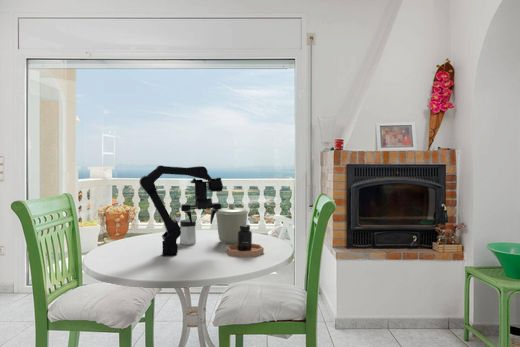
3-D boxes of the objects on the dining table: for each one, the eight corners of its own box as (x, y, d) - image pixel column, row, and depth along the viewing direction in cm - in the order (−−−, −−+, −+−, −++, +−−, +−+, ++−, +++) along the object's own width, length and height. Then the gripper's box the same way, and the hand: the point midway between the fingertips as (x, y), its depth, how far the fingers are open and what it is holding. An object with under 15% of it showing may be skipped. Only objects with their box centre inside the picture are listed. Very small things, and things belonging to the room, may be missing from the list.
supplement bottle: (243, 252, 170) (243, 227, 169) (234, 250, 175) (234, 225, 174) (254, 250, 174) (254, 225, 174) (245, 247, 179) (245, 223, 179)
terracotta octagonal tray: (230, 257, 165) (230, 252, 165) (224, 249, 181) (224, 244, 181) (266, 255, 169) (266, 250, 169) (257, 247, 185) (257, 242, 185)
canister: (222, 237, 209) (222, 200, 208) (252, 239, 204) (252, 201, 203) (209, 244, 191) (209, 204, 190) (242, 246, 186) (242, 205, 186)
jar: (183, 245, 189) (182, 222, 188) (177, 242, 195) (177, 220, 195) (199, 243, 194) (199, 221, 193) (193, 240, 200) (192, 218, 200)
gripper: (182, 194, 165) (182, 228, 166) (222, 193, 170) (223, 226, 171) (180, 192, 176) (181, 224, 176) (219, 191, 181) (219, 222, 181)
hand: (201, 224), depth 176 cm, fingers open, 9 cm apart
